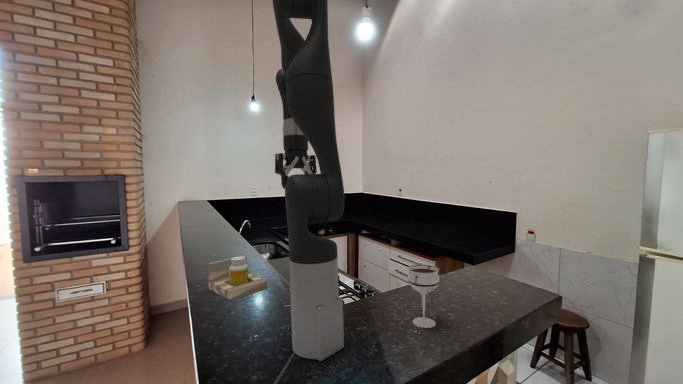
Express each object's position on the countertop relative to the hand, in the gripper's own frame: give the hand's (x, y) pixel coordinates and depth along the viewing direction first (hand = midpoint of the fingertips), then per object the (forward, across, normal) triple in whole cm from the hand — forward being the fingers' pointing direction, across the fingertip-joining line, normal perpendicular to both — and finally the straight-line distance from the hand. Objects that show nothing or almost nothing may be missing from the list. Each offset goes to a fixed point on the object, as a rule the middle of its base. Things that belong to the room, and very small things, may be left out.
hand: (297, 188), depth 92 cm
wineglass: (+30, +2, -41) cm, 51 cm away
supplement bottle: (+30, -15, +11) cm, 35 cm away
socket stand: (+30, -15, +11) cm, 35 cm away
